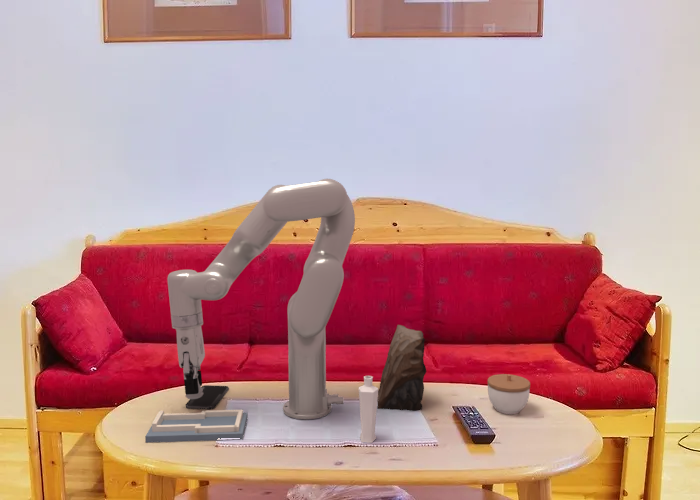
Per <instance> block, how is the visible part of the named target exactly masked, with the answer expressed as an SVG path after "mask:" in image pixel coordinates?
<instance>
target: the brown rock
mask: <svg viewBox="0 0 700 500" xmlns="http://www.w3.org/2000/svg"><path fill="white" fill-rule="evenodd" d="M391 339H392V340H391V342H390V345H389V348H388V352H387V356H386V360H385V364H384V368H383V369H382V373H381V377H380V378H381V379H380V383H379V388H378V399H377V410H389V411H390V410H391V411H393V410H394V411H395V410H396V411H410V412H418V411H422V410H423V404H422V401H423V399H424V393H425V386H424V385H425V384H424V378H425V375H426V374H427V368H426V365H425V363H424V362H425V361H424V356H425V340H426V339H425V337H424V333H423V331H422V330H415V329H412V328H411V329H410V328H407V327H406V326H405V325H402V324H397V326H396V329H395V332H394V334H393V336H392V338H391Z"/></svg>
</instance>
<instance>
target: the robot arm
mask: <svg viewBox="0 0 700 500" xmlns="http://www.w3.org/2000/svg"><path fill="white" fill-rule="evenodd" d="M354 209H355V208H354V206H353V203H352V200H351V198H350V197H349V194H348V192H347V190H346V188H345V187H344V185H343V184H342V183H341V182H340V181H338V180H335V179H333V178H322V179H320V180H318V181H312V182H306V183H297V184H287V185H286V184H276V185H274V186H272V187H271V188H269V189H268V190H267V192H266V193H265V194H264V195H263V197H262V198H261V199H260V200H259V201H258V202H257V204H256V205H255V206H254V208H252V209H251V212H249V213H248V215H246V217H245V219H243V221H241V223H240V224H239V225H238V227H237V228H236V230H235V231H234V233H233V234H232V236H231V238H230V240H229V241H228V242H227V243H226V245H225V246H224V247H223V248H222V249H221V251H220V252H219V253H218V255H217V256H216V257H215V258H214V260H212V262H211V263H210V264H209V265H208V266H207V268H206V269H205V270H204V271H200V272H198V271H196V270H193V269H179V270H175V271H171V272H169V274H168V275H167V289H168V297H169V307H170V319H171V328H172V329H175V331H176V332H175V333H176V349H177V359H178V365H179V368H181V369H183V370H182V371H183V384H184V393H185V395H186V394H187V395H188V394H198V392H199V389H198V381H199V384H200V386H201V387H202V386H203V378H202V370H201V369H202V368H201V365H202V363H203V361H204V359H205V357H206V352H205V351H206V350H205V344H204V337H203V329H202V326H203V325H204V319H203V308H202V300H203V301H218V300H221V299H223V298H224V297H225V296H226V295H227V294H228V292H229V290H230V288H231V286H232V285H233V283H234V282H235V281H236V280H237V278H238V277H239V276H240V274H241V273H242V272H243V271H244V270H245V268H246V267H247V266H249V264H250V263H251V262H252V261H253V260H254V259H255V258H256V257H257V256H260V255H261V254H262V253H264V251H265V250H266V249H267V248H268V246H269V245H270V244H271V243H272V241H273V240H274V239H275V238H276V237H277V235H278V234H279V233H280V232H281V230H282V229H284V227H285V226H286V224H287V223H288V222H298V221H305V220H312V219H320V218H321V219H320V226H319V228H318V231H317V233H316V236H315V240H314V242H313V245H312V246H311V250H310V252H309V254H308V257H307V258H306V260H305V263H304V265H303V275H302V278H301V281H300V284H299V286H298V288H297V291H295V293H294V294H292V296H290V299H289V300H288V304H287V309H286V310H287V312H286V313H287V331H288V332H287V334H288V335H287V340H288V343H287V345H288V346H287V347H288V348H287V349H288V352H287V353H288V354H287V355H288V360H287V362H288V401H286V402H285V403H283V405H282V411H283V413H284V414H285V415H286V416H288V417H289V418H292V419H297V420H314V419H320V418H323V417H326V416H328V415H329V414H331V412H332V410H333V405H344V401H345V399H344V396H339V394H338V393H335V394H330V393H328V388H327V385H326V383H327V382H326V381H327V376H326V375H327V373H326V372H327V371H326V370H327V368H326V367H327V366H326V365H327V364H326V360H327V358H326V355H327V354H326V352H327V350H326V349H327V348H326V347H327V346H326V345H327V342H326V341H327V340H326V339H327V337H326V332H327V331H326V326H327V324H328V322H329V320H330V318H331V315H332V313H333V310H334V308H335V305H336V303H337V300H338V297H339V294H340V293H341V289H342V286H343V283H344V277H345V274H344V268H343V264H344V262H345V258H346V255H347V252H348V250H349V247H350V243H351V242H352V241H351V240H352V237H353V234H354V230H355V226H356V225H355V224H356V223H355V222H356V215H355V210H354ZM191 365H193V366H191ZM196 366H197V367H198V368H199V370H198V371H197V374H198V378H196ZM190 369H193V372H192V371H190Z"/></svg>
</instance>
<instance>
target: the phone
mask: <svg viewBox="0 0 700 500" xmlns="http://www.w3.org/2000/svg"><path fill="white" fill-rule="evenodd" d="M201 388H202V389H203V391H202V392H203V395H202V397H200V398H198V399H188V401H187V402H186V403H185V409H186V410H205V411H209V410H215V408H216V407H218V404H219V403H220V402H221V401H222V399H223V398H224V397H225V395H226V394H227V393H228V392H229V386H228V385H206V384H205V385H202V386H201Z"/></svg>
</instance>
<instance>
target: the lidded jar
mask: <svg viewBox="0 0 700 500" xmlns="http://www.w3.org/2000/svg"><path fill="white" fill-rule="evenodd" d="M530 389H531V381H530V380H528V378H525V377H523V376H520V375H515V374H509V373H508V374H507V373H500V374H493V375H490V376H489V377H488V378H487V394H488V399H489V401H490V404H491V405H492V406H493V408H495V410H496V411H497V412H499V413H501V414H505V415H516V414H517V415H518V414H519V413H520V411H521V410H524V408H525V406H526V405H527V403H528V401H529V397H530Z"/></svg>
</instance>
